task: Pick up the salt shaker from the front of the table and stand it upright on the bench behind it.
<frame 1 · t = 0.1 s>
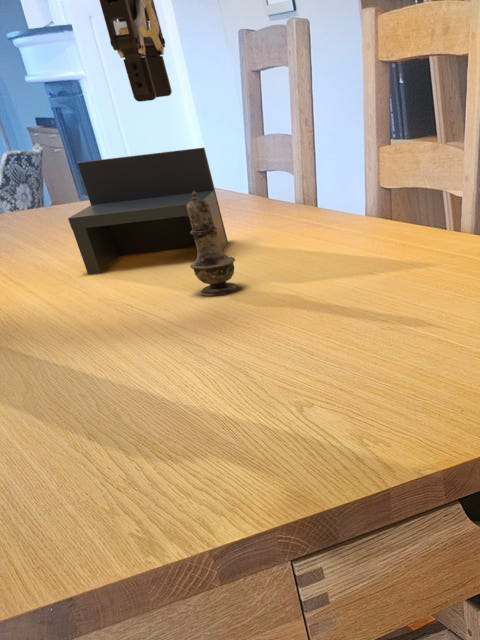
hand: (154, 98, 91), 22 cm above the table, tool pointing down, fingers open, 8 cm apart
salt shaker: (220, 292, 111), on the table
bench: (160, 257, 135), on the table
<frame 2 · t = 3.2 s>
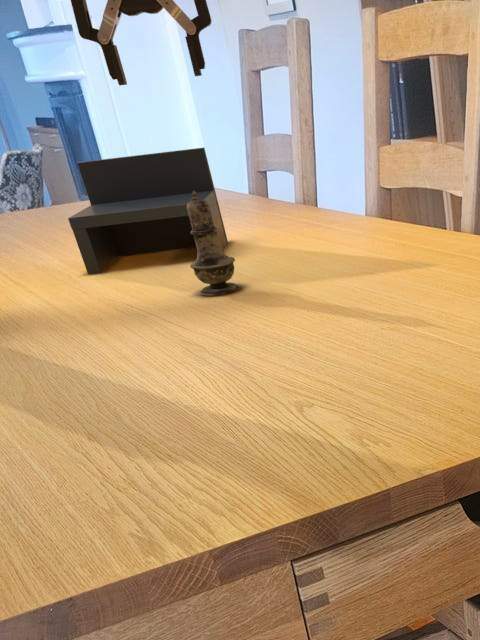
hand: (160, 80, 95), 24 cm above the table, tool pointing down, fingers open, 8 cm apart
nothing on the table moved.
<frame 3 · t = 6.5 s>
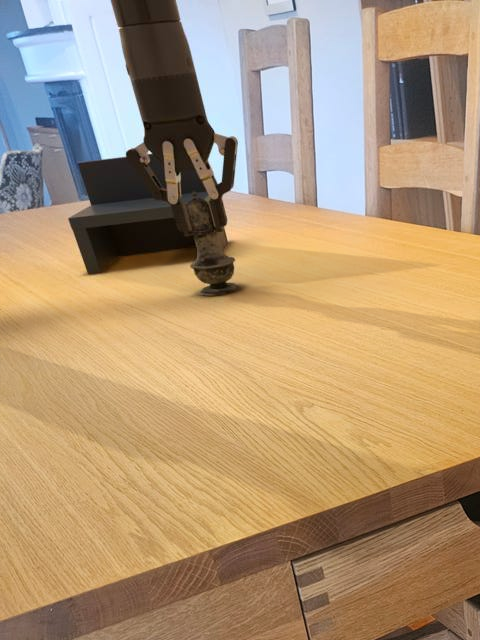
hand: (204, 232, 107), 7 cm above the table, tool pointing down, fingers closed on salt shaker, 3 cm apart
salt shaker: (220, 292, 111), on the table, touching gripper
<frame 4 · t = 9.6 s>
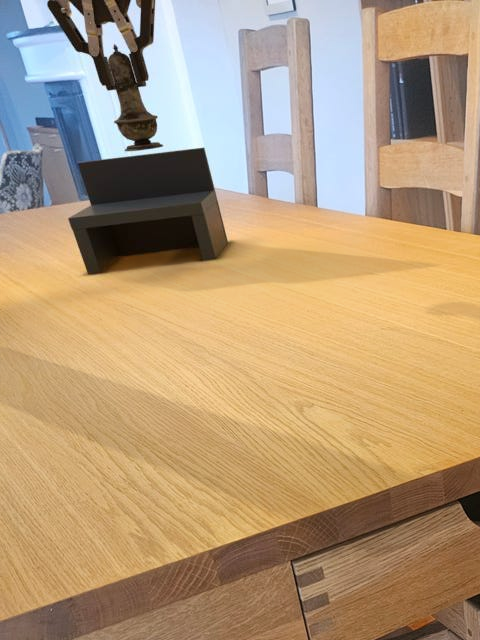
hand: (126, 87, 112), 23 cm above the table, tool pointing down, fingers closed on salt shaker, 3 cm apart
salt shaker: (144, 150, 117), point 16 cm above the table, touching gripper
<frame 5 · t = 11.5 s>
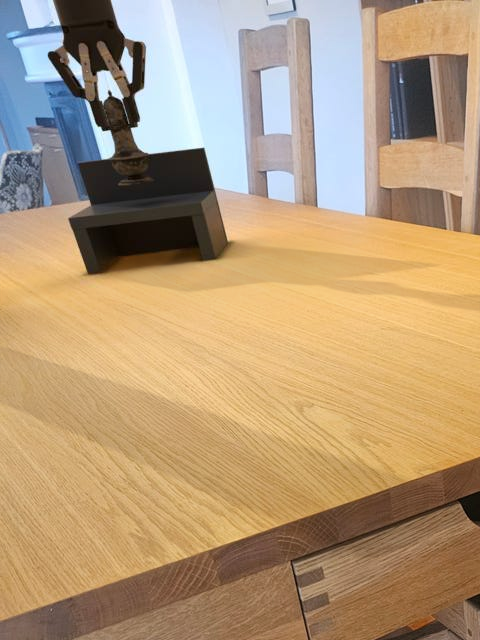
hand: (120, 128, 123), 18 cm above the table, tool pointing down, fingers closed on salt shaker, 3 cm apart
salt shaker: (136, 184, 128), point 11 cm above the table, touching gripper
when the fingers open (15 cm above the table, at t = 12.7 s): salt shaker stays where it is, resting on bench.
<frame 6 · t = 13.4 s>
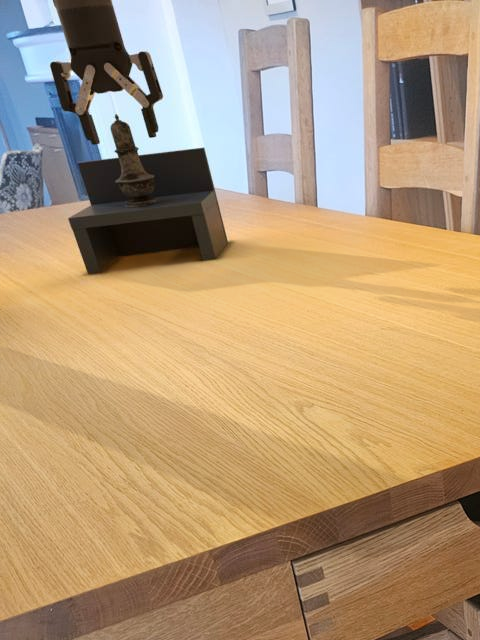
hand: (124, 140, 124), 17 cm above the table, tool pointing down, fingers open, 8 cm apart
salt shaker: (143, 205, 130), point 8 cm above the table, touching bench
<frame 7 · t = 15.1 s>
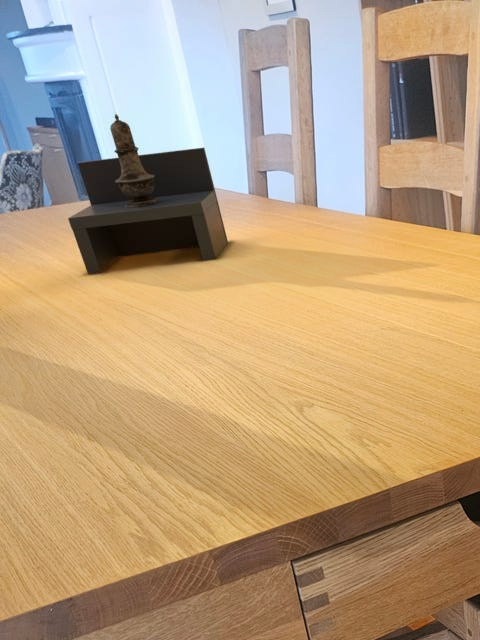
nothing on the table moved.
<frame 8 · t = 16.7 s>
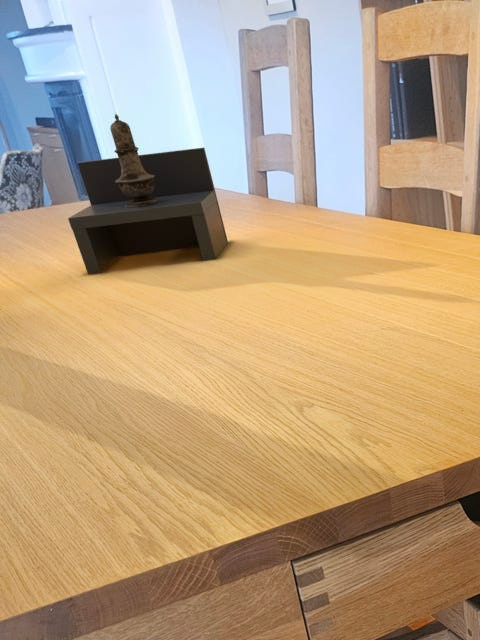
nothing on the table moved.
at the end: salt shaker inside the target area on the bench (0.9 cm from its centre), point 7.8 cm above the bench's base; salt shaker tilted 0°; the gripper is holding nothing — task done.
